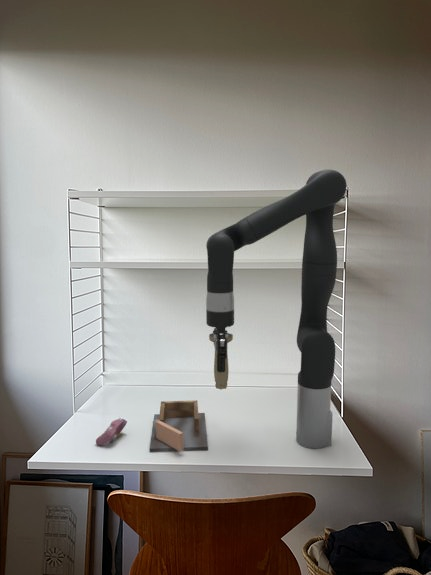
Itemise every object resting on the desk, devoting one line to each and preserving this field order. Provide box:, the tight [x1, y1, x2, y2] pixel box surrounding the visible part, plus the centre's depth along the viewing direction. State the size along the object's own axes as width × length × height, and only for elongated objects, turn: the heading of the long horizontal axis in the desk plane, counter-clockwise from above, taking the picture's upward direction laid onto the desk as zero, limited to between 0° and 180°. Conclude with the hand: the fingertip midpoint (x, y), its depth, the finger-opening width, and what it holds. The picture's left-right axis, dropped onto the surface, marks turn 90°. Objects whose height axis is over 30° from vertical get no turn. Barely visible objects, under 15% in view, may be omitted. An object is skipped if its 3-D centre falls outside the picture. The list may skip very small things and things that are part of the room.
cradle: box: [149, 400, 209, 453], centre depth 142 cm, size 16×22×6 cm
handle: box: [208, 332, 234, 390], centre depth 131 cm, size 5×6×15 cm
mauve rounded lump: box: [95, 417, 128, 446], centre depth 138 cm, size 10×5×7 cm, turn 164°
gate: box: [153, 419, 183, 452], centre depth 133 cm, size 12×2×5 cm, turn 44°
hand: (220, 368), depth 132 cm, fingers closed on handle, 4 cm apart
